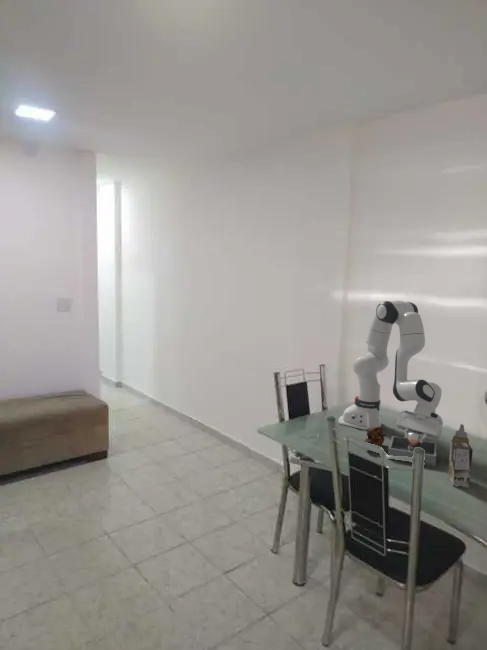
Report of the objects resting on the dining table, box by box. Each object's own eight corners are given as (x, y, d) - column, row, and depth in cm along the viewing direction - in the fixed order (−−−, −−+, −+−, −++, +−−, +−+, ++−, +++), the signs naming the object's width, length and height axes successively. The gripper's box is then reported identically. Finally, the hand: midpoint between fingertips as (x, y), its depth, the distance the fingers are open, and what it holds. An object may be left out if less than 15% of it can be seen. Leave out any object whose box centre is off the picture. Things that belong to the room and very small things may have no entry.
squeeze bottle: (466, 460, 212) (470, 422, 209) (470, 468, 204) (474, 429, 201) (447, 458, 214) (450, 420, 211) (450, 466, 206) (454, 427, 203)
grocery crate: (387, 458, 212) (388, 448, 212) (391, 445, 227) (392, 435, 226) (435, 467, 205) (436, 456, 204) (436, 452, 219) (436, 442, 218)
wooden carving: (371, 454, 217) (372, 434, 215) (362, 451, 220) (363, 431, 218) (387, 444, 229) (388, 424, 227) (378, 441, 232) (379, 422, 230)
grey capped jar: (406, 450, 214) (407, 434, 213) (407, 446, 218) (408, 430, 217) (418, 452, 212) (419, 435, 211) (419, 448, 216) (420, 431, 215)
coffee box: (469, 488, 187) (473, 449, 184) (452, 486, 188) (455, 448, 186) (463, 477, 196) (467, 440, 193) (447, 475, 197) (450, 439, 194)
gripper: (400, 406, 225) (389, 431, 219) (443, 416, 211) (433, 443, 205) (403, 413, 228) (393, 437, 223) (446, 423, 215) (436, 450, 209)
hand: (413, 440), depth 214 cm, fingers closed on grey capped jar, 5 cm apart
